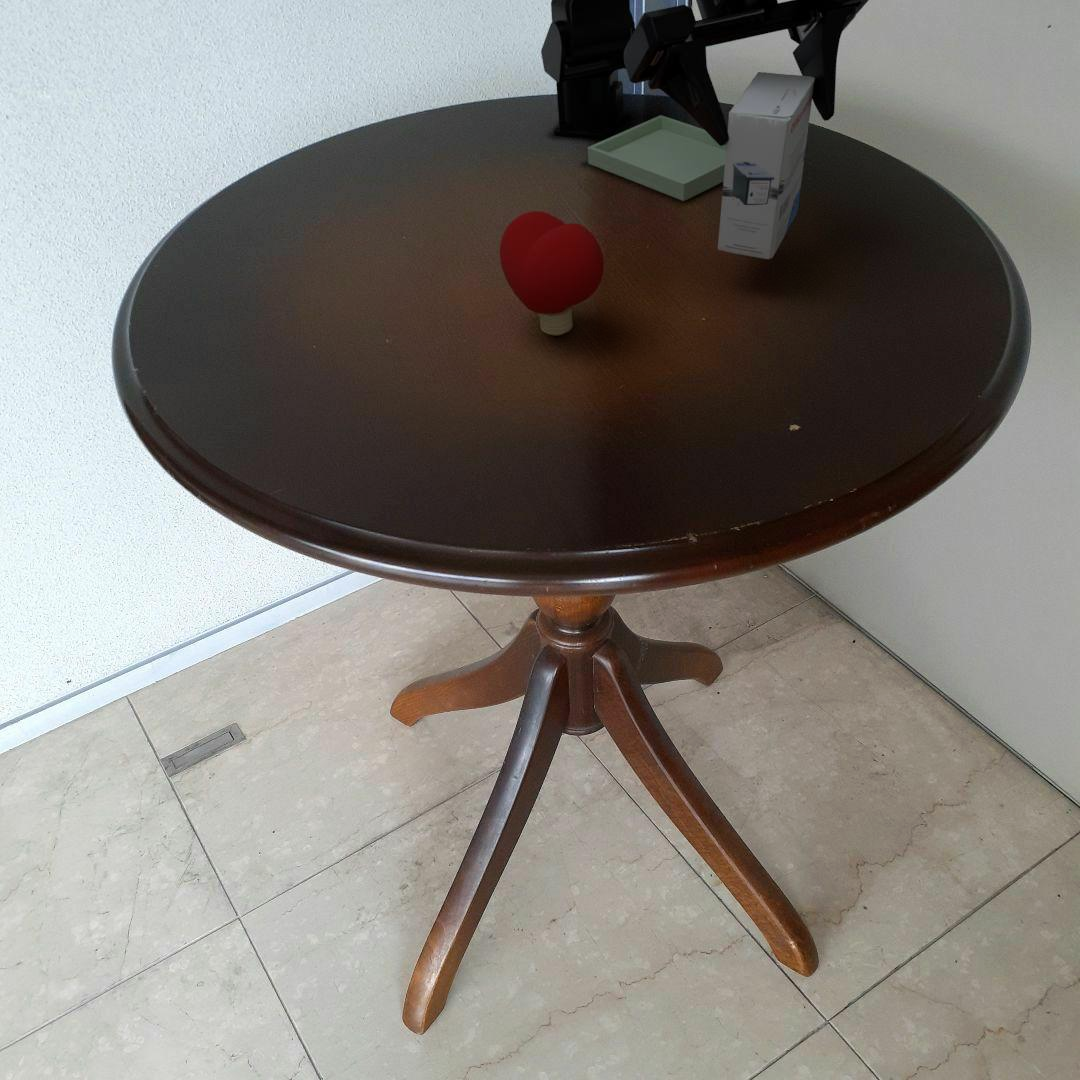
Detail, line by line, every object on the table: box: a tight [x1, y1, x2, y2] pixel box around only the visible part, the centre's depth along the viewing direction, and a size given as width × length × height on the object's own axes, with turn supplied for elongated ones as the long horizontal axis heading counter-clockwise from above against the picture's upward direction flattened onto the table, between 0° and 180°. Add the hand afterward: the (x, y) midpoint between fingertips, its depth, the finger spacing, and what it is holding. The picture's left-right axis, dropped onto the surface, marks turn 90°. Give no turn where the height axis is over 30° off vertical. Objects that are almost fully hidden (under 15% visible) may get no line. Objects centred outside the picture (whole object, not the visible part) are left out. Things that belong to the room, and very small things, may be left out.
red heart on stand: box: [499, 210, 605, 338], centre depth 82 cm, size 9×7×10 cm
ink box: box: [717, 71, 815, 260], centre depth 83 cm, size 9×5×12 cm, turn 156°
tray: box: [587, 114, 727, 202], centre depth 107 cm, size 14×11×2 cm
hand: (777, 130), depth 80 cm, fingers closed on ink box, 9 cm apart
